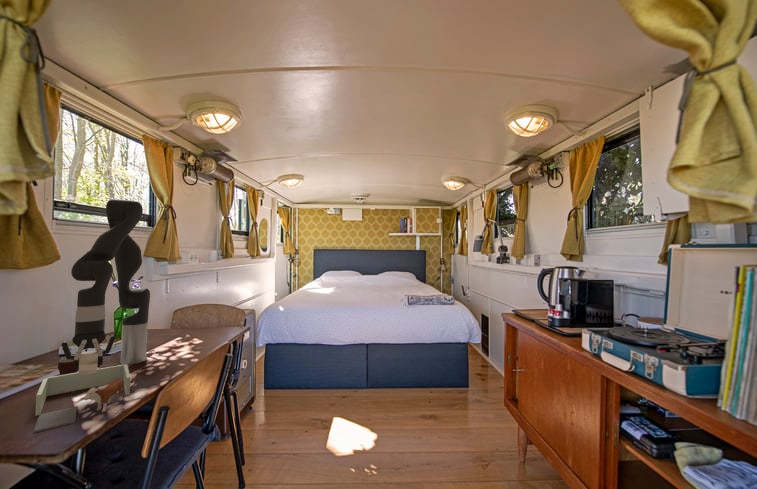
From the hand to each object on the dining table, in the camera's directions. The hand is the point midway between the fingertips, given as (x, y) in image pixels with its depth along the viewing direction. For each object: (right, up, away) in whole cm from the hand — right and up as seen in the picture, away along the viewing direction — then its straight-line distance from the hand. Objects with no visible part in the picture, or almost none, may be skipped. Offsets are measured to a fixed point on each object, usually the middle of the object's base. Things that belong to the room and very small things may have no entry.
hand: (88, 368), depth 106 cm
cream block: (0, -1, 0) cm, 1 cm away
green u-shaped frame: (-1, -9, 0) cm, 9 cm away
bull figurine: (+13, -9, -8) cm, 18 cm away
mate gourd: (-23, -10, +17) cm, 31 cm away
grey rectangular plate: (+6, -9, -16) cm, 19 cm away
